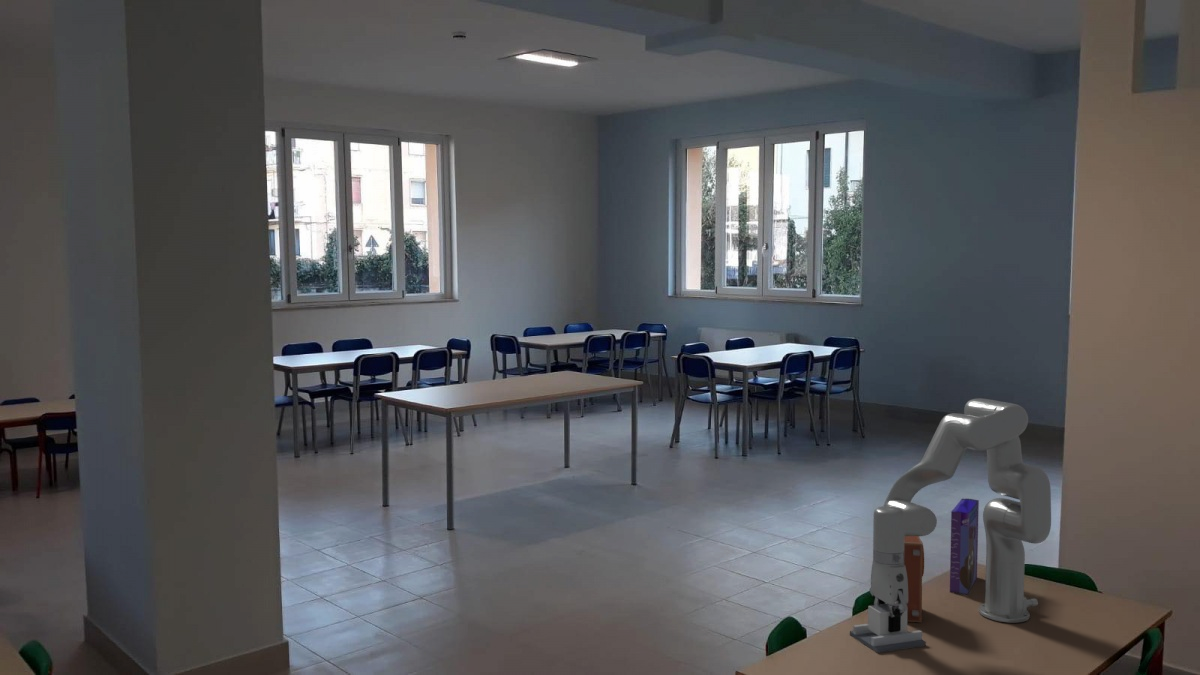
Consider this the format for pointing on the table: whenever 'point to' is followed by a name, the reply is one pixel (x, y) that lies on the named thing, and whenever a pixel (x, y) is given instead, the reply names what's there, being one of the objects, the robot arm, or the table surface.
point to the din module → (883, 620)
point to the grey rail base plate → (887, 639)
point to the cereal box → (964, 546)
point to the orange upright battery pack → (914, 576)
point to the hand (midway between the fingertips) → (887, 626)
